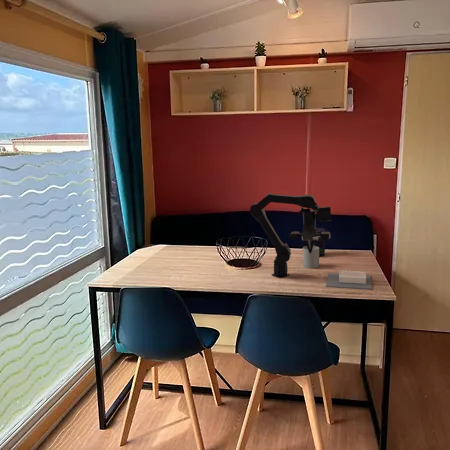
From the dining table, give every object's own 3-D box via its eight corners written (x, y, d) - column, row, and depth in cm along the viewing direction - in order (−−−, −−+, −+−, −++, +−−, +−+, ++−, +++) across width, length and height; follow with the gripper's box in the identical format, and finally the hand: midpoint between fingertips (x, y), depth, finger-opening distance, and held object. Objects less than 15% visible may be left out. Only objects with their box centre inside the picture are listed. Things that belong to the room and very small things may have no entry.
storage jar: (320, 258, 254) (320, 232, 251) (304, 256, 260) (304, 230, 257) (327, 254, 262) (328, 228, 259) (312, 252, 268) (312, 227, 265)
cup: (300, 267, 239) (300, 248, 237) (305, 263, 246) (305, 245, 244) (316, 269, 235) (316, 250, 233) (320, 265, 242) (321, 246, 240)
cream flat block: (339, 276, 210) (366, 278, 207) (339, 270, 220) (365, 271, 217) (338, 283, 211) (366, 284, 208) (339, 276, 220) (365, 277, 217)
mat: (325, 286, 208) (326, 285, 208) (328, 273, 227) (328, 272, 227) (372, 289, 203) (372, 288, 202) (370, 275, 221) (370, 274, 221)
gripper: (286, 224, 213) (288, 257, 216) (327, 224, 207) (328, 258, 210) (291, 220, 223) (292, 251, 227) (330, 220, 217) (330, 251, 220)
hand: (310, 253), depth 221 cm, fingers closed
